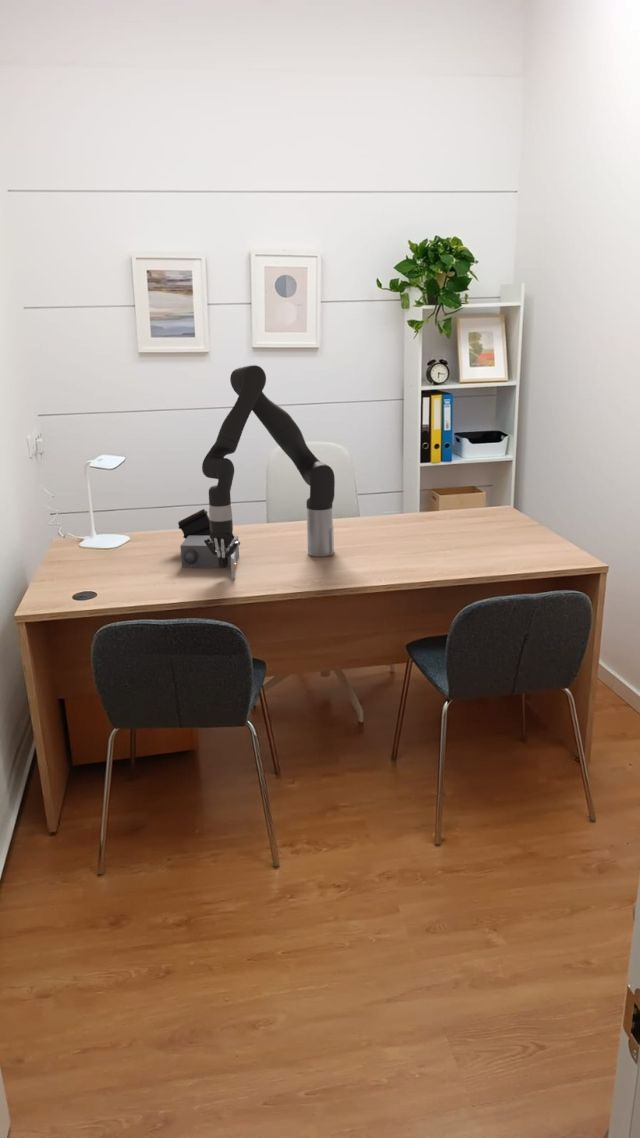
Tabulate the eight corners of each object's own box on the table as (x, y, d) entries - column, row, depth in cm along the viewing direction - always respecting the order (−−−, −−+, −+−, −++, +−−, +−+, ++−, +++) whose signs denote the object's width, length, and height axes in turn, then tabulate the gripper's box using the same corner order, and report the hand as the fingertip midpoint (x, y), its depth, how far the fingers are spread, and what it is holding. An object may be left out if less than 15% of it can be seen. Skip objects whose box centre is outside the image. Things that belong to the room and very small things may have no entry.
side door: (232, 567, 296) (231, 548, 293) (237, 567, 296) (236, 548, 294) (231, 579, 284) (230, 559, 282) (236, 578, 284) (235, 558, 282)
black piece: (224, 545, 316) (204, 510, 311) (193, 561, 317) (172, 526, 312) (224, 542, 319) (204, 507, 315) (193, 558, 321) (173, 524, 316)
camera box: (239, 556, 308) (237, 533, 305) (232, 569, 295) (230, 544, 292) (190, 556, 309) (188, 533, 306) (180, 568, 297) (179, 544, 294)
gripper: (197, 518, 280) (200, 568, 285) (232, 522, 275) (235, 573, 280) (209, 512, 286) (212, 561, 292) (244, 516, 281) (246, 566, 287)
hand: (223, 567), depth 286 cm, fingers closed
